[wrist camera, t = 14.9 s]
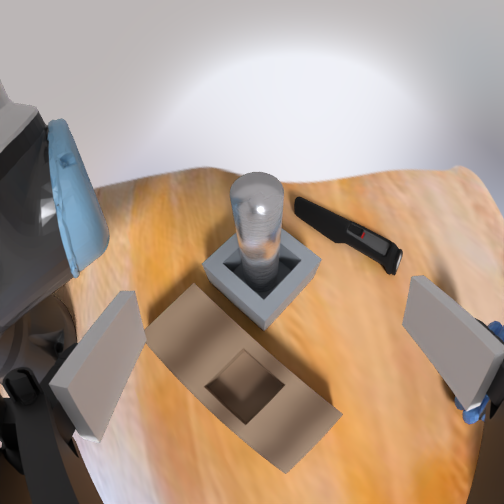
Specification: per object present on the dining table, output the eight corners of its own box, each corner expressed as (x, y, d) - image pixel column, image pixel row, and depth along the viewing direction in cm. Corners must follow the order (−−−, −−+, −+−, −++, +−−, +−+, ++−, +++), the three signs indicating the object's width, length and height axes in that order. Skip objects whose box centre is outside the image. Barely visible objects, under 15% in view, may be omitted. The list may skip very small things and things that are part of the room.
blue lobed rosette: (438, 331, 30) (500, 300, 19) (475, 336, 29) (536, 309, 18) (425, 423, 25) (491, 427, 14) (465, 422, 24) (530, 421, 13)
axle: (238, 278, 33) (218, 194, 19) (260, 256, 34) (255, 164, 21) (262, 298, 32) (258, 224, 18) (283, 275, 33) (294, 190, 19)
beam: (150, 341, 31) (139, 335, 28) (200, 293, 33) (193, 282, 30) (282, 465, 24) (285, 474, 21) (334, 411, 27) (343, 414, 24)
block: (209, 281, 34) (201, 263, 29) (259, 234, 36) (259, 211, 32) (264, 331, 31) (264, 321, 27) (313, 277, 34) (321, 259, 29)
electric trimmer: (301, 201, 39) (303, 186, 36) (401, 256, 35) (411, 245, 32) (287, 221, 38) (289, 206, 35) (392, 279, 34) (402, 269, 31)
